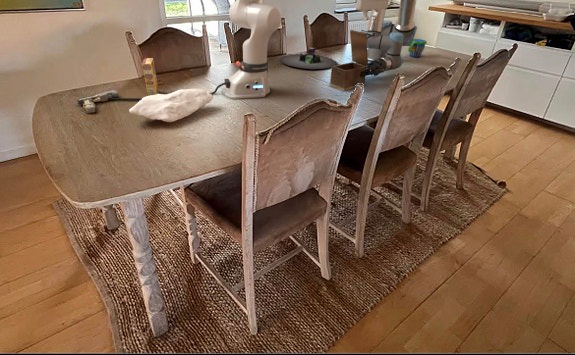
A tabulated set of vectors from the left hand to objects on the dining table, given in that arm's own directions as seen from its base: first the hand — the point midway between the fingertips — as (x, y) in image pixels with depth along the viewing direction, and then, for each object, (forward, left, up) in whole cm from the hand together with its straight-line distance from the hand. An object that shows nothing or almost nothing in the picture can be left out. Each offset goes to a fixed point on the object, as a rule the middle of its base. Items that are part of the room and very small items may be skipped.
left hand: (370, 19), depth 178 cm
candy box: (-104, +19, -31) cm, 110 cm away
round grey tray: (-8, +43, -31) cm, 54 cm away
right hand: (-7, -1, -24) cm, 25 cm away
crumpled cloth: (-100, -6, -31) cm, 105 cm away
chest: (-10, -2, -31) cm, 33 cm away
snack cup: (+69, +32, -31) cm, 82 cm away
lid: (-6, -1, -13) cm, 14 cm away
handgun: (-126, +16, -31) cm, 130 cm away
